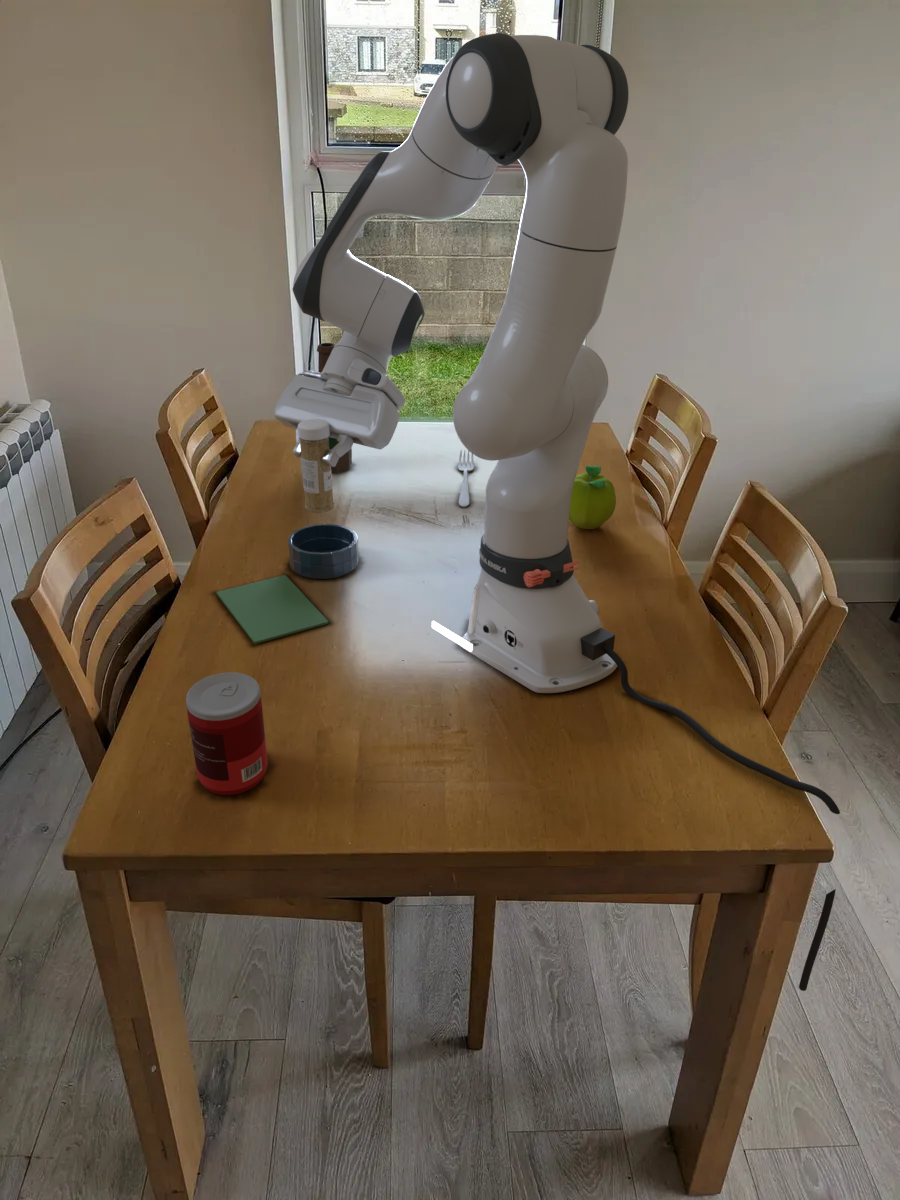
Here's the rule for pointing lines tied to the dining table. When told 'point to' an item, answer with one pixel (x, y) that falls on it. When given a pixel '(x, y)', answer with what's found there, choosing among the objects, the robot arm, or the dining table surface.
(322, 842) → the dining table surface
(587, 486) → the fruit
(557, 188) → the robot arm
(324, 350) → the beer bottle
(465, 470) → the fork
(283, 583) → the green mat
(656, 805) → the dining table surface
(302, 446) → the sprinkles bottle
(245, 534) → the dining table surface
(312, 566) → the dark blue bowl
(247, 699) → the canned food
